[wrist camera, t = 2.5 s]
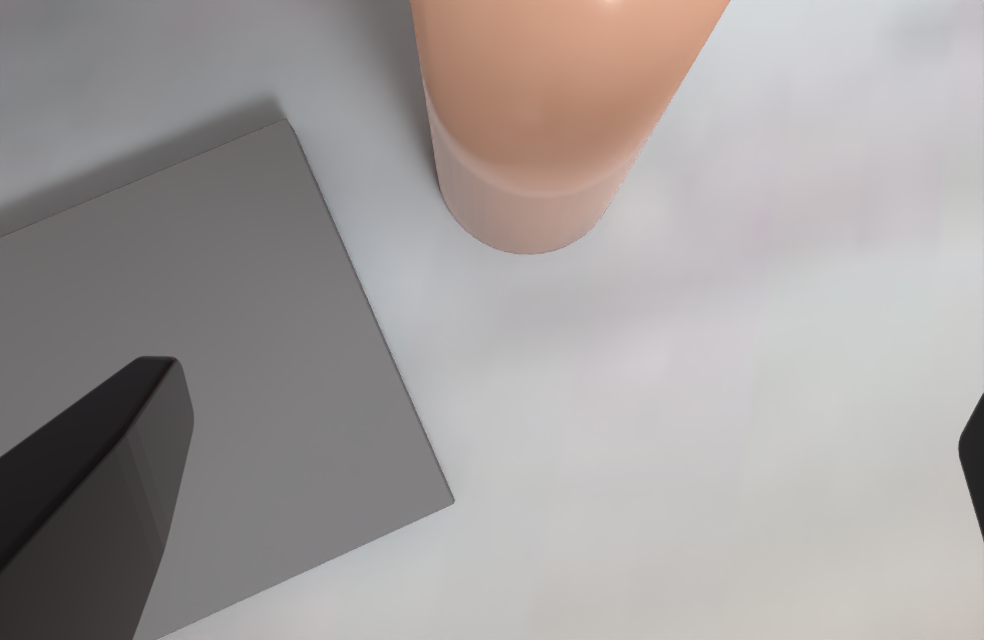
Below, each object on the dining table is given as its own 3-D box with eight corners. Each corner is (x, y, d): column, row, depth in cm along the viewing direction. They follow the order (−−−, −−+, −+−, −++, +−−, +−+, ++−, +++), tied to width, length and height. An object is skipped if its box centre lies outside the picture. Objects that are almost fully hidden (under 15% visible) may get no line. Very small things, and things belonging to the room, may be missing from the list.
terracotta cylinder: (647, 210, 23) (858, -60, 10) (481, 283, 23) (486, 97, 10) (571, 52, 24) (682, -391, 11) (408, 121, 23) (325, -253, 11)
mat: (454, 500, 22) (453, 503, 21) (58, 681, 21) (38, 693, 20) (294, 131, 23) (286, 118, 22) (-86, 290, 23) (-112, 284, 22)
